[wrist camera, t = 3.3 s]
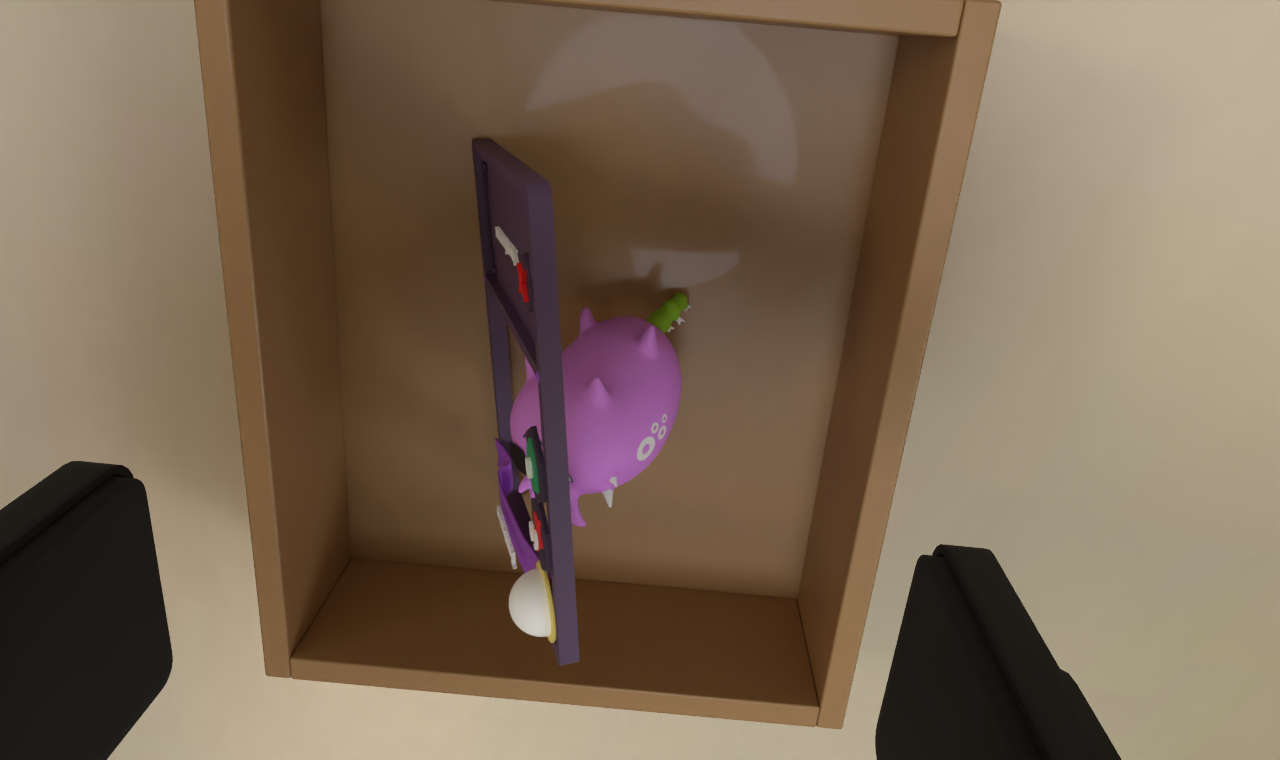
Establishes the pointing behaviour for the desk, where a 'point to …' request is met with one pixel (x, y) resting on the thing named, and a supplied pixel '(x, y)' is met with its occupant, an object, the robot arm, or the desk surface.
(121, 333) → the desk surface
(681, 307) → the purple toy figure
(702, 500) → the box
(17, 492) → the desk surface
